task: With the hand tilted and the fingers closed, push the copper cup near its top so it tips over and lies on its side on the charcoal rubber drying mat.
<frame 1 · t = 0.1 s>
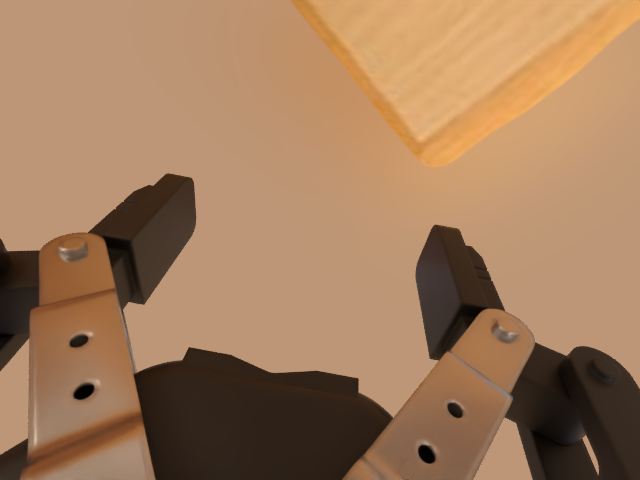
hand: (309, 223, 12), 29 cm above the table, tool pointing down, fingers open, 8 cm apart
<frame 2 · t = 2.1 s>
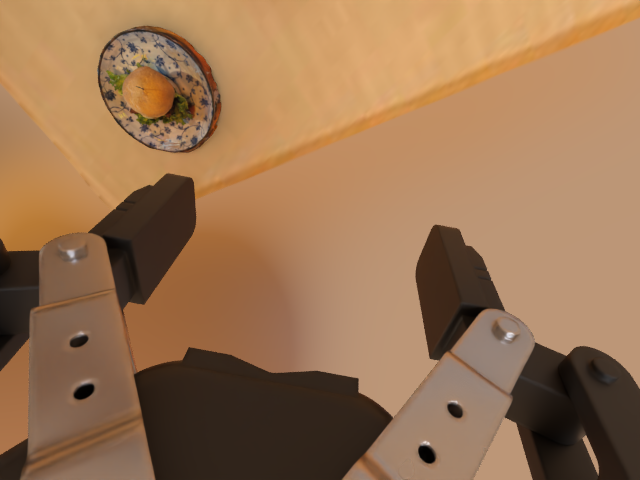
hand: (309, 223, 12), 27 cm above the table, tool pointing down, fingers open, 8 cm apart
floral plate with food: (166, 92, 37), on the table
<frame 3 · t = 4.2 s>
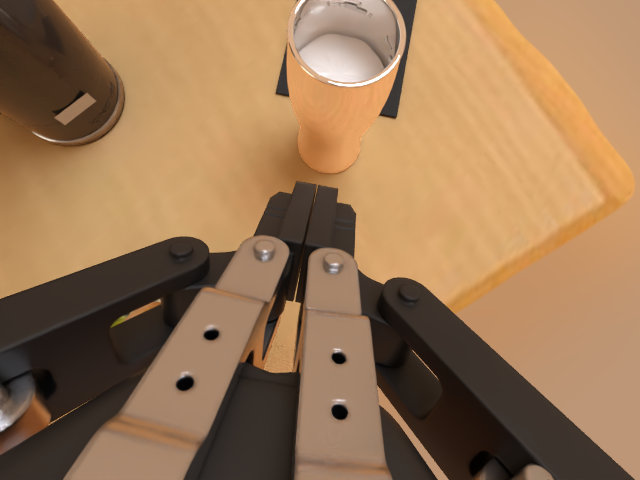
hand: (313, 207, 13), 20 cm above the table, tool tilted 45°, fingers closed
drying mat: (350, 33, 36), on the table
copper cup: (328, 144, 34), on the table
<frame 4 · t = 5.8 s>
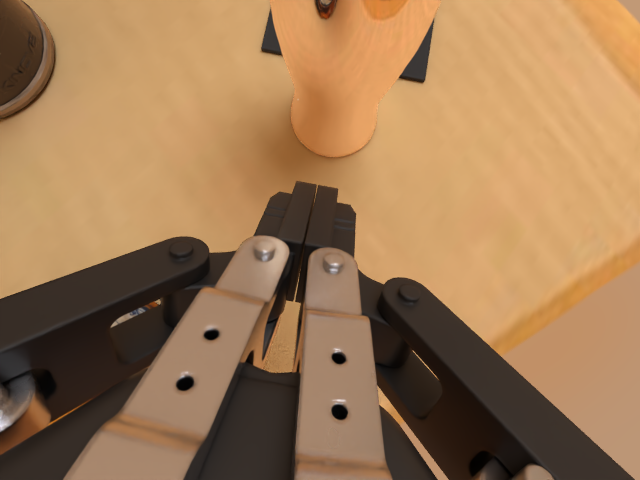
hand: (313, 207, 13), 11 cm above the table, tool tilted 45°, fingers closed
copper cup: (333, 118, 25), on the table
floral plate with food: (107, 386, 22), on the table
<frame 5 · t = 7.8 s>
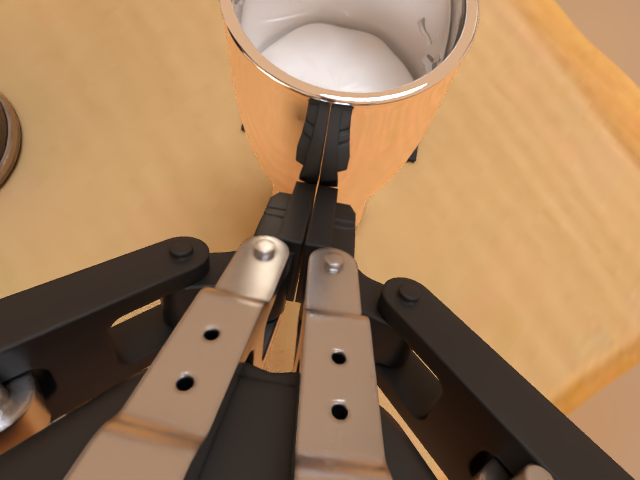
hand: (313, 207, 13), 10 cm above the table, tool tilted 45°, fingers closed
copper cup: (318, 201, 23), on the table
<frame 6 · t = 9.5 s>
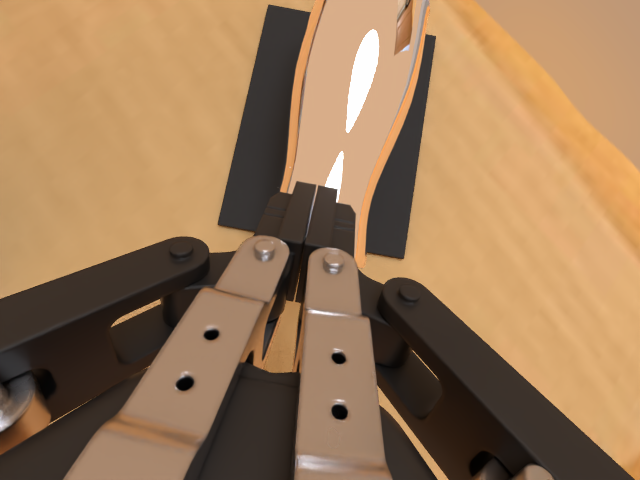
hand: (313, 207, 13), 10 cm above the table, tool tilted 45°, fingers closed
drying mat: (332, 127, 24), on the table
copper cup: (309, 258, 19), point 3 cm above the table, touching drying mat
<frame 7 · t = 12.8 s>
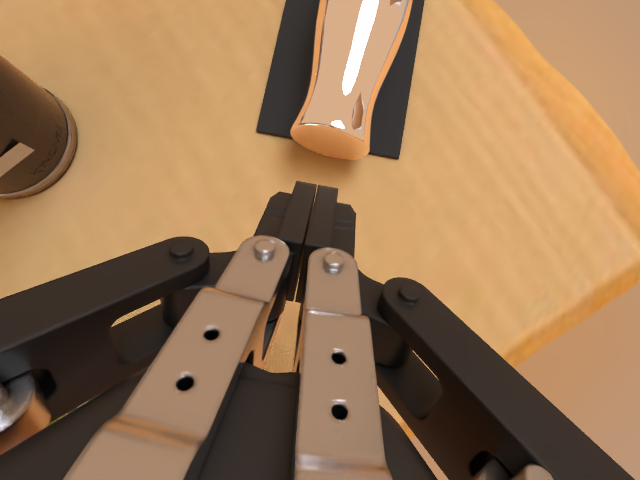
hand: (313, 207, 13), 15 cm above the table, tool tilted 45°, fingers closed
drying mat: (344, 60, 31), on the table
copper cup: (328, 146, 26), point 3 cm above the table, touching drying mat
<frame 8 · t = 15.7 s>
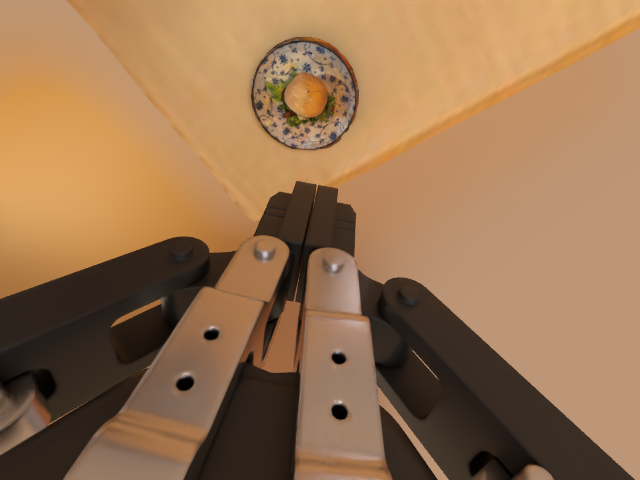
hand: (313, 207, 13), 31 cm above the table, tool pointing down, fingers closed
floral plate with food: (306, 95, 41), on the table
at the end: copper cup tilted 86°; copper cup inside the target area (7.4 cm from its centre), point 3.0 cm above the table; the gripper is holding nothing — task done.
